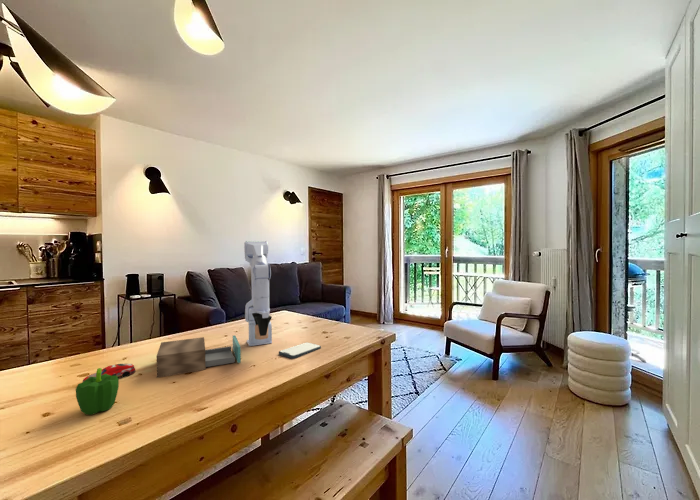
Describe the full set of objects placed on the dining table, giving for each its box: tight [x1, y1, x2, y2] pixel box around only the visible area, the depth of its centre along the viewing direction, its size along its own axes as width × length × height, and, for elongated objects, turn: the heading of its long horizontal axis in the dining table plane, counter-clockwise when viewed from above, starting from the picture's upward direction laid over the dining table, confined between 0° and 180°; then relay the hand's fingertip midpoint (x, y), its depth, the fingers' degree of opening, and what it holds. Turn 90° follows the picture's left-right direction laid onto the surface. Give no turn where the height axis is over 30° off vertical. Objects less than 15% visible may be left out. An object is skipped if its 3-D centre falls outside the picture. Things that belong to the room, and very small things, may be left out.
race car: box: [82, 363, 136, 382], centre depth 97 cm, size 13×5×4 cm, turn 142°
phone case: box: [278, 342, 322, 360], centre depth 122 cm, size 9×2×16 cm
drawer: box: [205, 335, 242, 368], centre depth 113 cm, size 14×16×6 cm
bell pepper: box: [75, 367, 120, 416], centre depth 78 cm, size 8×8×10 cm
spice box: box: [155, 336, 206, 378], centre depth 108 cm, size 14×16×7 cm
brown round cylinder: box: [255, 324, 268, 340], centre depth 114 cm, size 5×5×5 cm
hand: (261, 333), depth 114 cm, fingers closed on brown round cylinder, 5 cm apart
